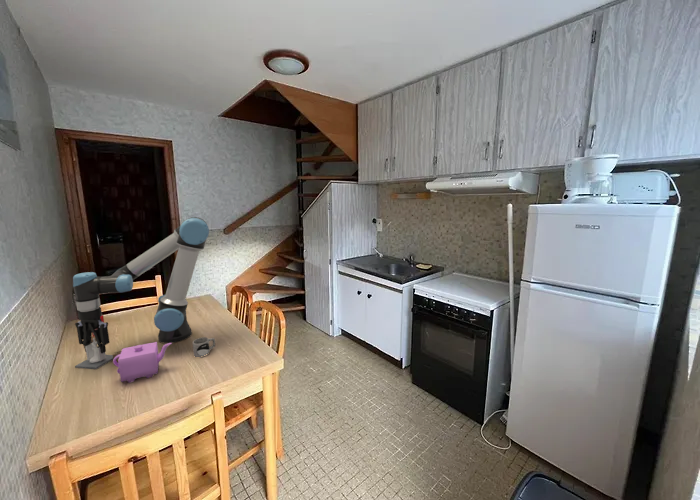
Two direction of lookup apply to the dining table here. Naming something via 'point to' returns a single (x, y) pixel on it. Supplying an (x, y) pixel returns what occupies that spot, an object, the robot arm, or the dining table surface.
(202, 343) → the mug
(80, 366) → the coaster
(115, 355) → the walnut cube
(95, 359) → the chess piece
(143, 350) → the teapot
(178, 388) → the dining table surface
